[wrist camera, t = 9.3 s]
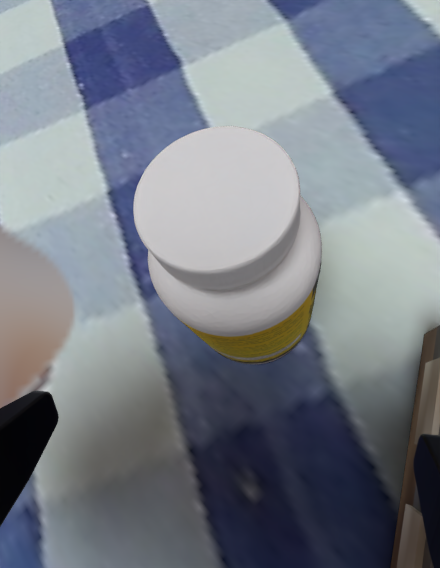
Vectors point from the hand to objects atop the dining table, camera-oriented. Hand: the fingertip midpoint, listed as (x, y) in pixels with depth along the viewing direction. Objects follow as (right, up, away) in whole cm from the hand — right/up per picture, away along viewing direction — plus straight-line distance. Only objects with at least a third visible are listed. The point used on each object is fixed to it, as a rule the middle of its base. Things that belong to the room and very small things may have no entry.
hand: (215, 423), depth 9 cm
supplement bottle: (+2, +2, +9) cm, 9 cm away
